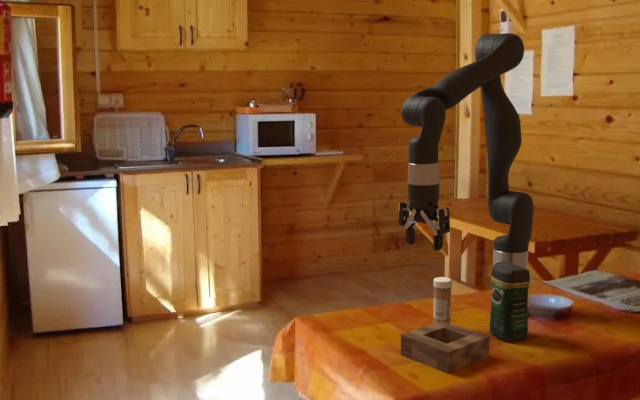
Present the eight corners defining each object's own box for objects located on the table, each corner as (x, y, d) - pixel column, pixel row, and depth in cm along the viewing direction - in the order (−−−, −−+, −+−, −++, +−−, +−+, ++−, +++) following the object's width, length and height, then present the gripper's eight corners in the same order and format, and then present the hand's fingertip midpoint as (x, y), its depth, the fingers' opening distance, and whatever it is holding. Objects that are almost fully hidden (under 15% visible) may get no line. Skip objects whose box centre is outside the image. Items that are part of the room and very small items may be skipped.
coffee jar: (533, 340, 179) (536, 267, 175) (504, 344, 176) (507, 270, 173) (511, 327, 188) (514, 257, 184) (484, 331, 185) (486, 260, 182)
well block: (441, 339, 180) (441, 320, 179) (488, 356, 169) (489, 336, 168) (400, 354, 170) (400, 334, 169) (448, 373, 160) (449, 352, 159)
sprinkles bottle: (454, 329, 187) (455, 278, 184) (443, 333, 184) (444, 282, 181) (439, 325, 190) (440, 275, 188) (428, 329, 187) (429, 278, 184)
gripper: (457, 182, 170) (456, 249, 173) (412, 176, 181) (412, 239, 184) (436, 186, 165) (436, 255, 169) (391, 180, 176) (391, 244, 179)
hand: (423, 246), depth 176 cm, fingers open, 8 cm apart
